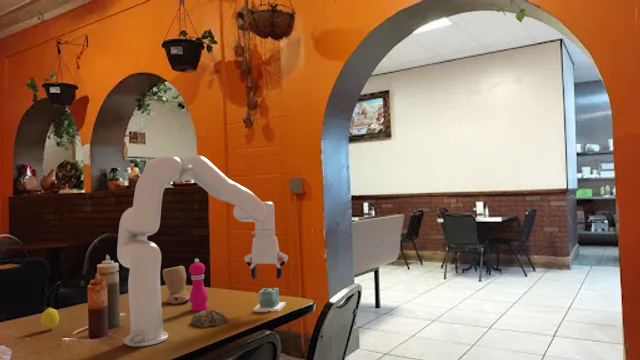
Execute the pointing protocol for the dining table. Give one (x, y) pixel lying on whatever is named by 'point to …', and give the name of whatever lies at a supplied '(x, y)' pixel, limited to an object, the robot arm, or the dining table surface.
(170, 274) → the beige hollow piece
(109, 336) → the dining table surface
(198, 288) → the pepper mill
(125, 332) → the dining table surface
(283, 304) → the shaft base
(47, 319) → the lemon
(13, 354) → the dining table surface
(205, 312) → the bread roll
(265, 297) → the collar
